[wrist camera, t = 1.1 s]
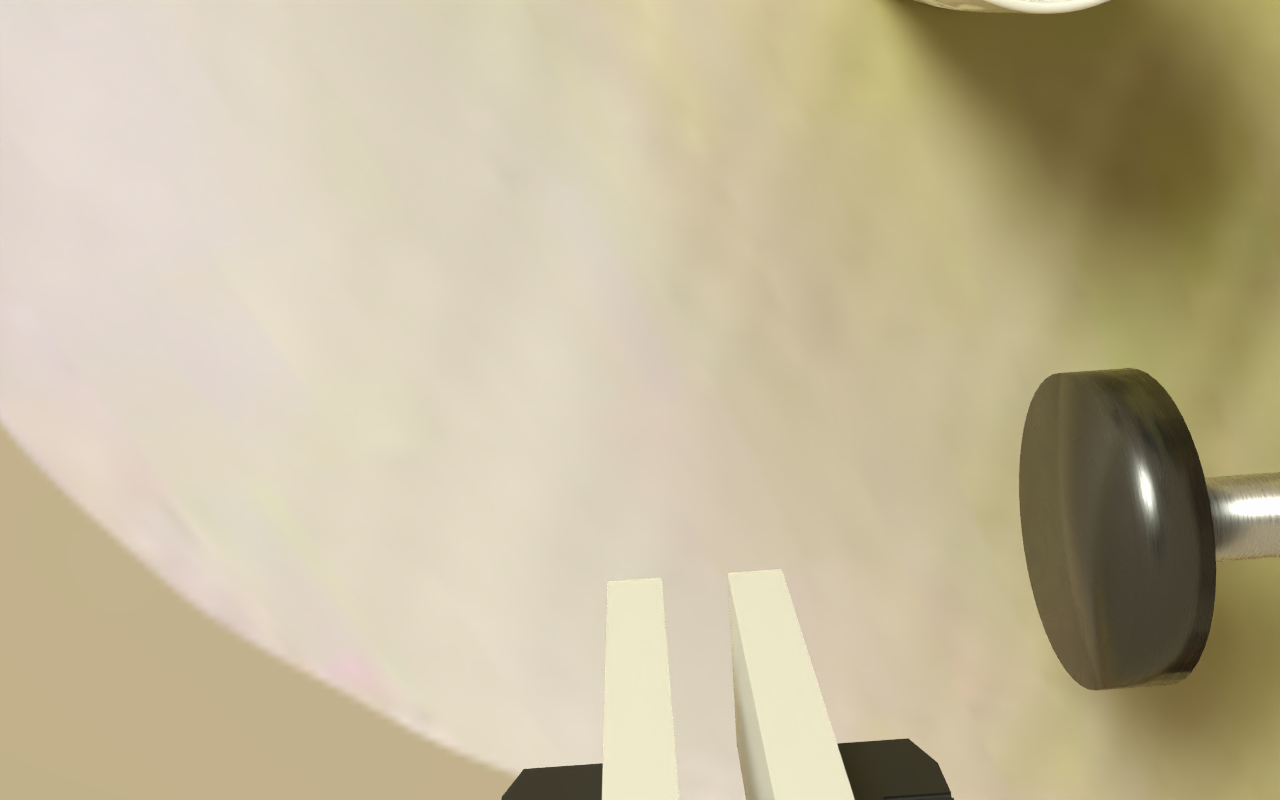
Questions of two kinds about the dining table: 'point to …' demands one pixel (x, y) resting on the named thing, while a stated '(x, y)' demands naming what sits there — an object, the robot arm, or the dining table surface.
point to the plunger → (1129, 527)
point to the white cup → (1015, 5)
